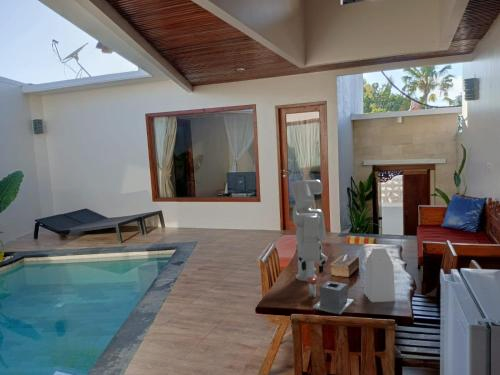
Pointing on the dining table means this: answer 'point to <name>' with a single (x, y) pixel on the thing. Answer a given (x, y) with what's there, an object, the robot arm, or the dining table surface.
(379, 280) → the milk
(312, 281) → the pin
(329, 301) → the receiver
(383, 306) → the dining table surface
